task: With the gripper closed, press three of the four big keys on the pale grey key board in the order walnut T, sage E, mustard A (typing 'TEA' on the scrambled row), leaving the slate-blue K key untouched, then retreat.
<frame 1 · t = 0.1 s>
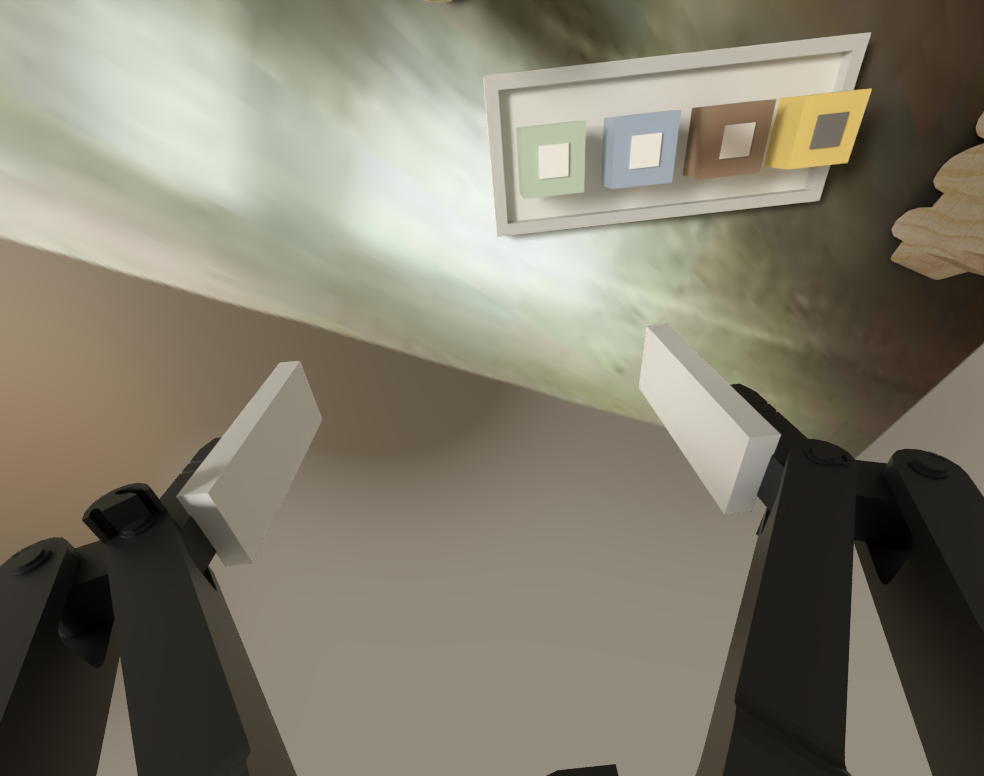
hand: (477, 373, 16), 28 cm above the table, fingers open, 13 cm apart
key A: (814, 130, 33), point 5 cm above the table, slide at 0.0 cm
key T: (726, 140, 33), point 5 cm above the table, slide at 0.0 cm
key E: (550, 160, 33), point 5 cm above the table, slide at 0.0 cm
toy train: (956, 178, 40), on the table
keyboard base: (657, 143, 37), on the table
key K: (638, 150, 33), point 5 cm above the table, slide at 0.0 cm
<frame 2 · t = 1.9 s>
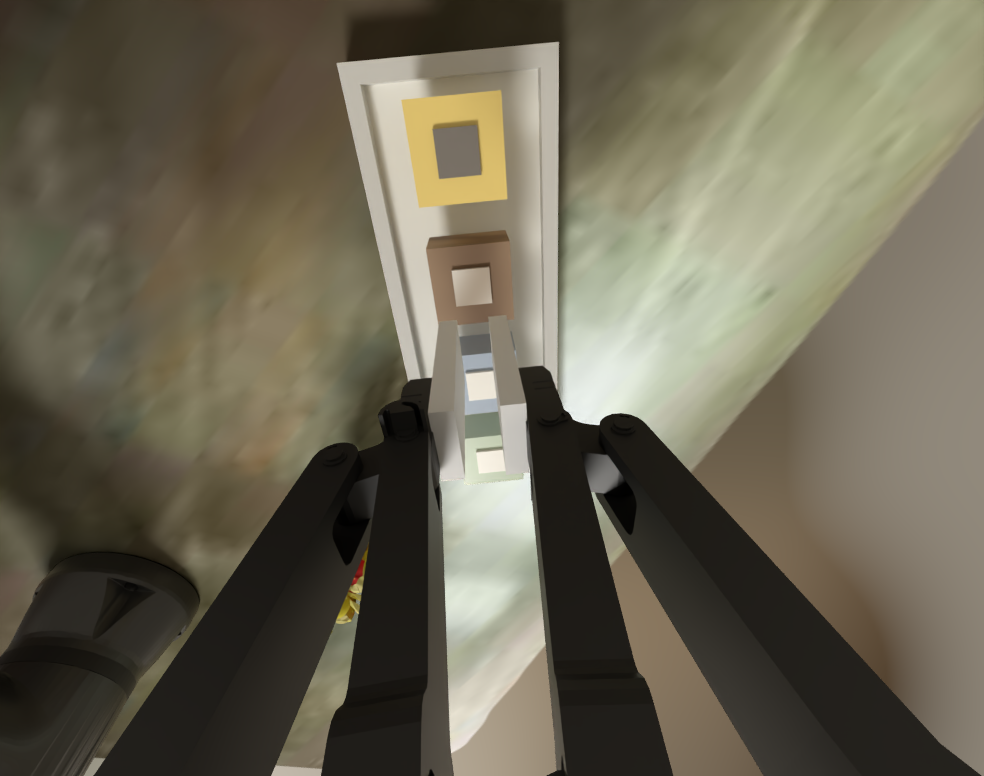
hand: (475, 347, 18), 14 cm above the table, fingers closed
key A: (457, 151, 22), point 5 cm above the table, slide at 0.0 cm
key T: (471, 278, 26), point 5 cm above the table, slide at 0.0 cm
key E: (490, 448, 33), point 5 cm above the table, slide at 0.0 cm
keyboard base: (475, 303, 32), on the table
key K: (482, 374, 30), point 5 cm above the table, slide at 0.0 cm
toy: (369, 481, 42), on the table
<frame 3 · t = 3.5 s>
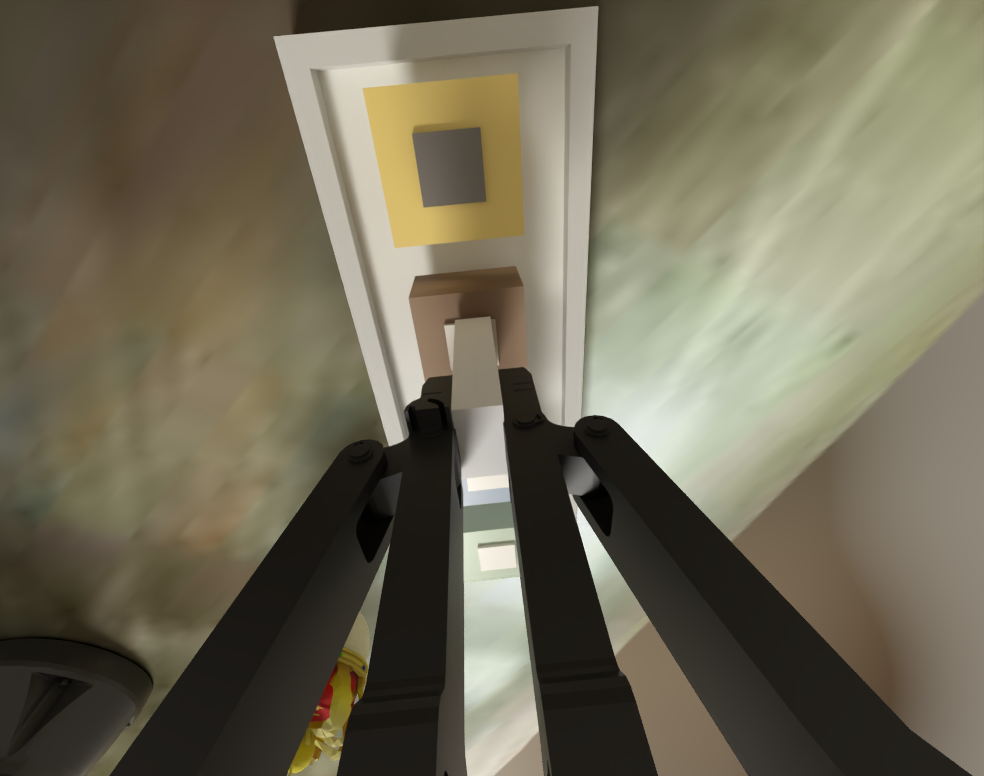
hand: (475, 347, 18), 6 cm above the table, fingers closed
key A: (451, 165, 15), point 5 cm above the table, slide at 0.0 cm
key T: (471, 331, 20), point 4 cm above the table, slide at 0.8 cm, touching gripper
key E: (495, 536, 26), point 5 cm above the table, slide at 0.0 cm
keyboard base: (476, 355, 25), on the table
key K: (485, 453, 23), point 5 cm above the table, slide at 0.0 cm
toy: (348, 556, 34), on the table
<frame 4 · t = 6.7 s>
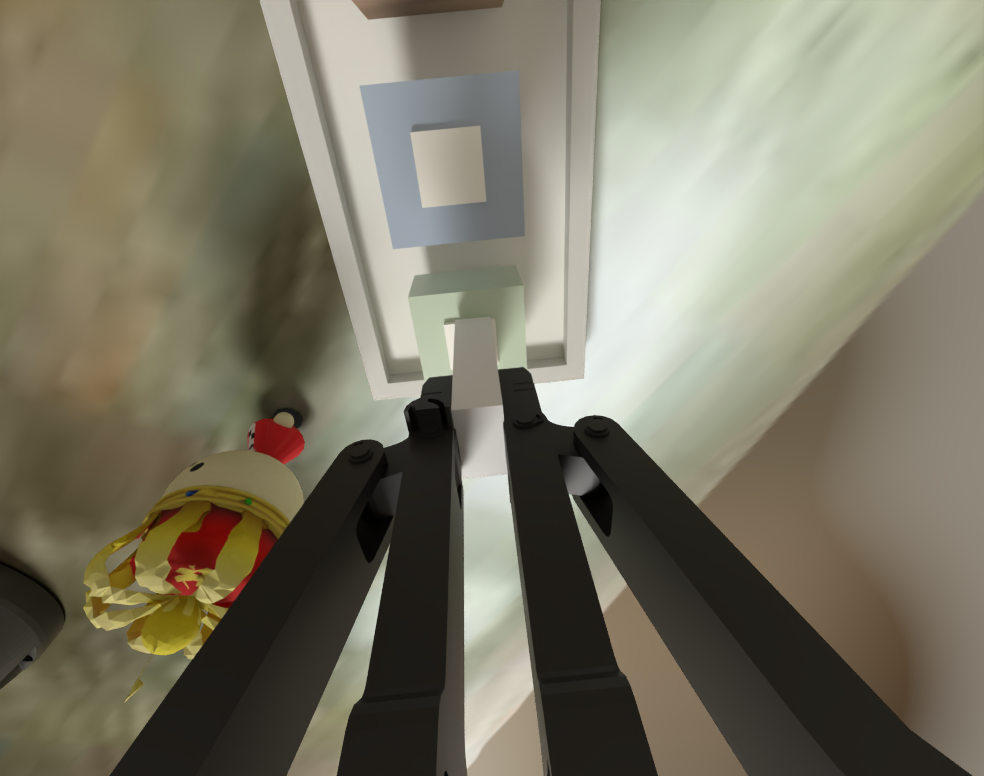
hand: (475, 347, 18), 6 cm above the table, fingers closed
key E: (471, 330, 20), point 4 cm above the table, slide at 1.1 cm, touching gripper
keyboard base: (441, 60, 17), on the table
key K: (450, 164, 15), point 5 cm above the table, slide at 0.0 cm
toy: (288, 424, 27), on the table
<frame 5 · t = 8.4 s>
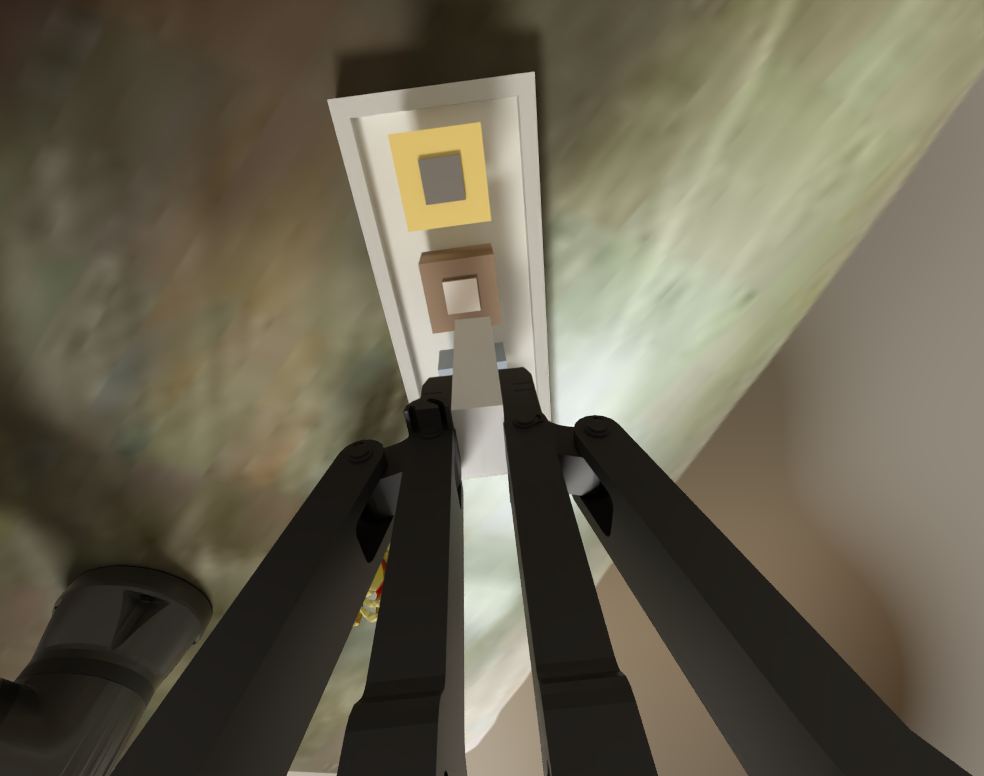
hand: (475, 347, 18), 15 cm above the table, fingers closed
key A: (443, 177, 24), point 5 cm above the table, slide at 0.0 cm
key T: (461, 288, 28), point 4 cm above the table, slide at 1.2 cm
key E: (486, 444, 36), point 4 cm above the table, slide at 1.2 cm
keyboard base: (467, 316, 33), on the table
key K: (476, 384, 31), point 5 cm above the table, slide at 0.0 cm
toy: (373, 488, 43), on the table
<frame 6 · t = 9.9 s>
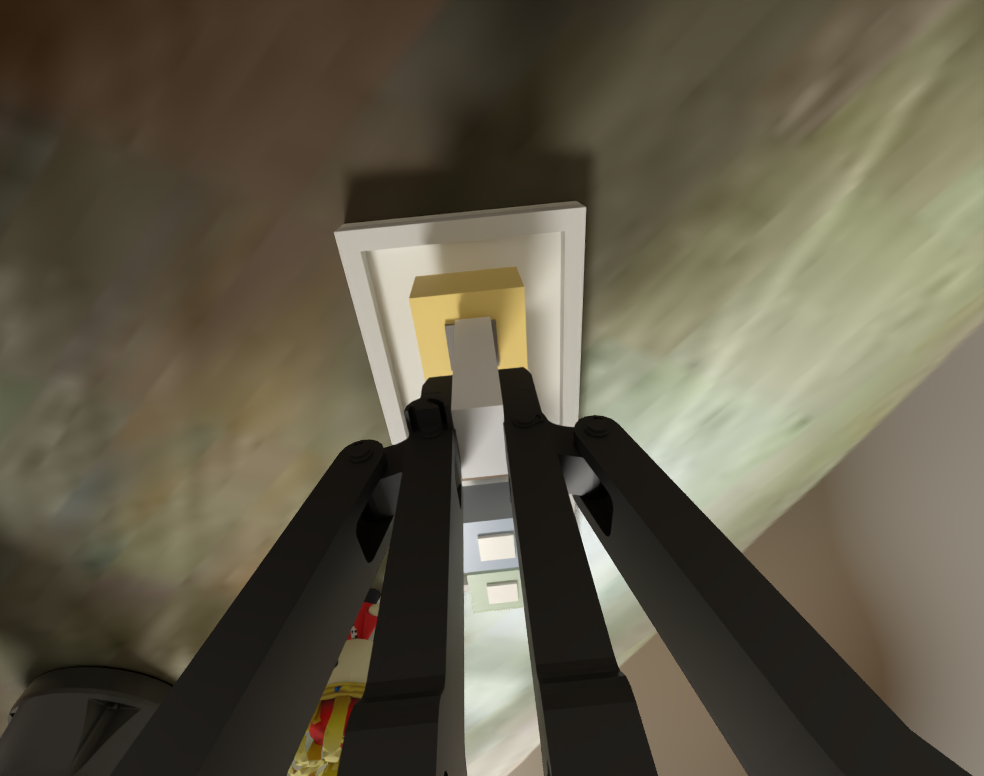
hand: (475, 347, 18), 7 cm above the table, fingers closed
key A: (472, 331, 20), point 5 cm above the table, slide at 0.0 cm, touching gripper
key T: (484, 431, 24), point 4 cm above the table, slide at 1.2 cm
key E: (501, 574, 32), point 4 cm above the table, slide at 1.2 cm
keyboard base: (486, 438, 29), on the table
key K: (495, 527, 27), point 5 cm above the table, slide at 0.0 cm
toy: (370, 596, 39), on the table
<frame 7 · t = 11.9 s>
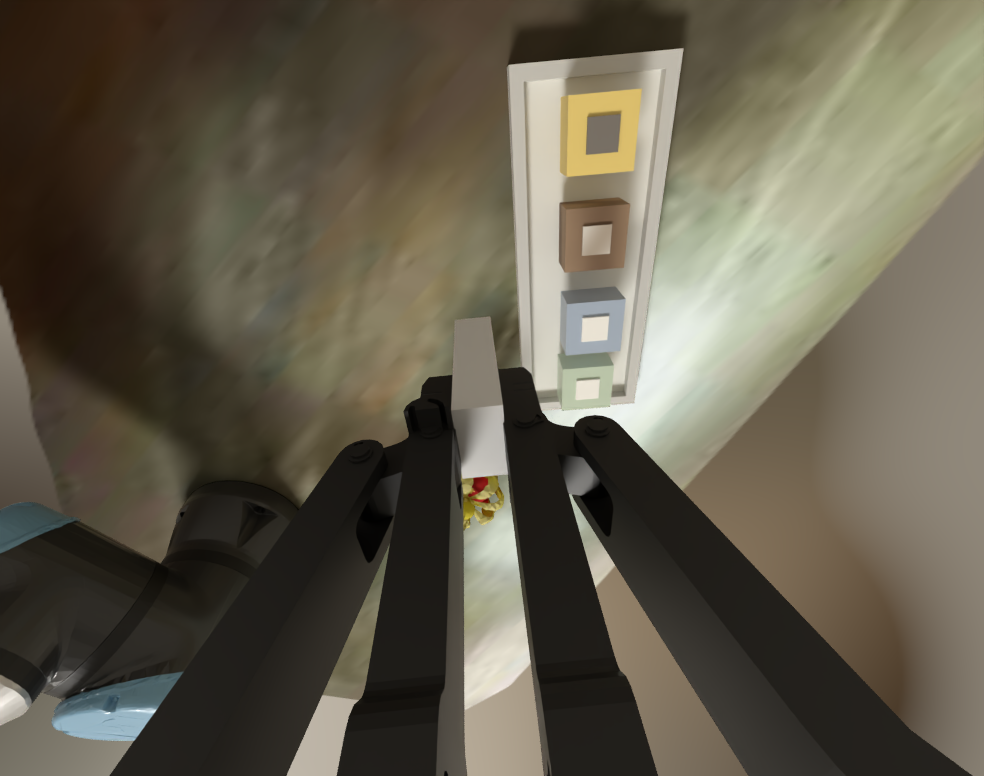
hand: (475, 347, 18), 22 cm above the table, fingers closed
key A: (597, 134, 29), point 4 cm above the table, slide at 1.2 cm
key T: (592, 235, 33), point 4 cm above the table, slide at 1.2 cm
key E: (584, 381, 41), point 4 cm above the table, slide at 1.2 cm
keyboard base: (580, 264, 38), on the table
key K: (590, 321, 36), point 5 cm above the table, slide at 0.0 cm
toy: (467, 422, 48), on the table
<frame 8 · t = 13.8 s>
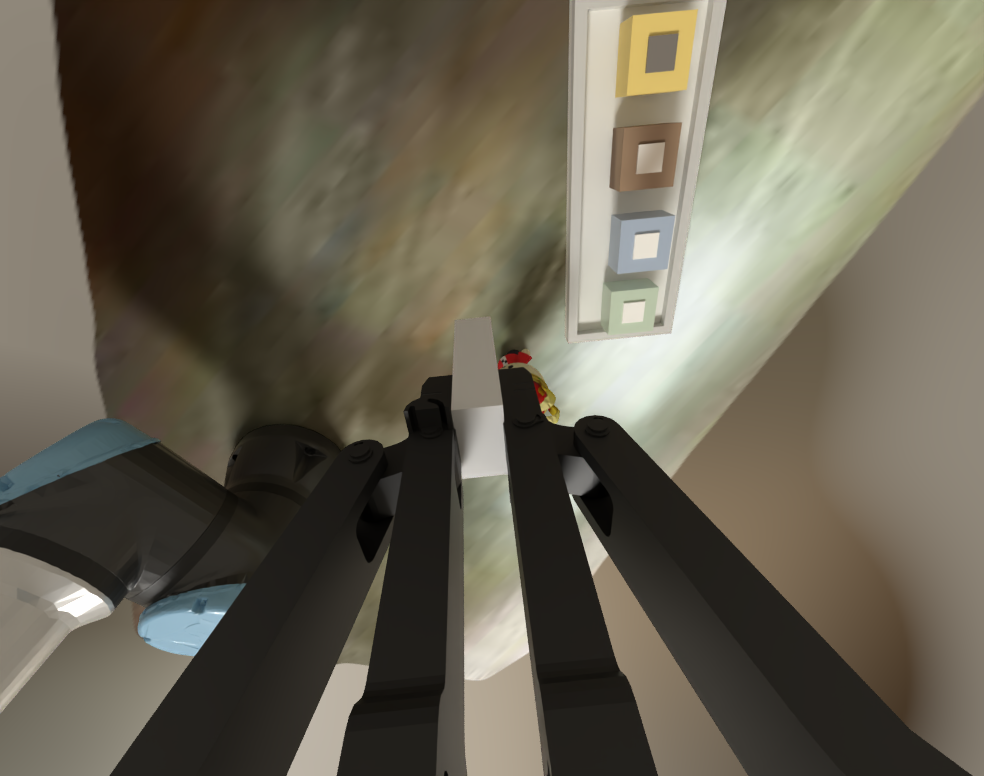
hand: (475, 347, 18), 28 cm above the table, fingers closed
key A: (653, 56, 33), point 4 cm above the table, slide at 1.2 cm
key T: (643, 157, 36), point 4 cm above the table, slide at 1.2 cm
key E: (628, 307, 44), point 4 cm above the table, slide at 1.2 cm
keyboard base: (626, 194, 41), on the table
key K: (639, 242, 39), point 5 cm above the table, slide at 0.0 cm
toy: (511, 359, 51), on the table
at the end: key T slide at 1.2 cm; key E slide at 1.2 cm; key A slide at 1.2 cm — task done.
